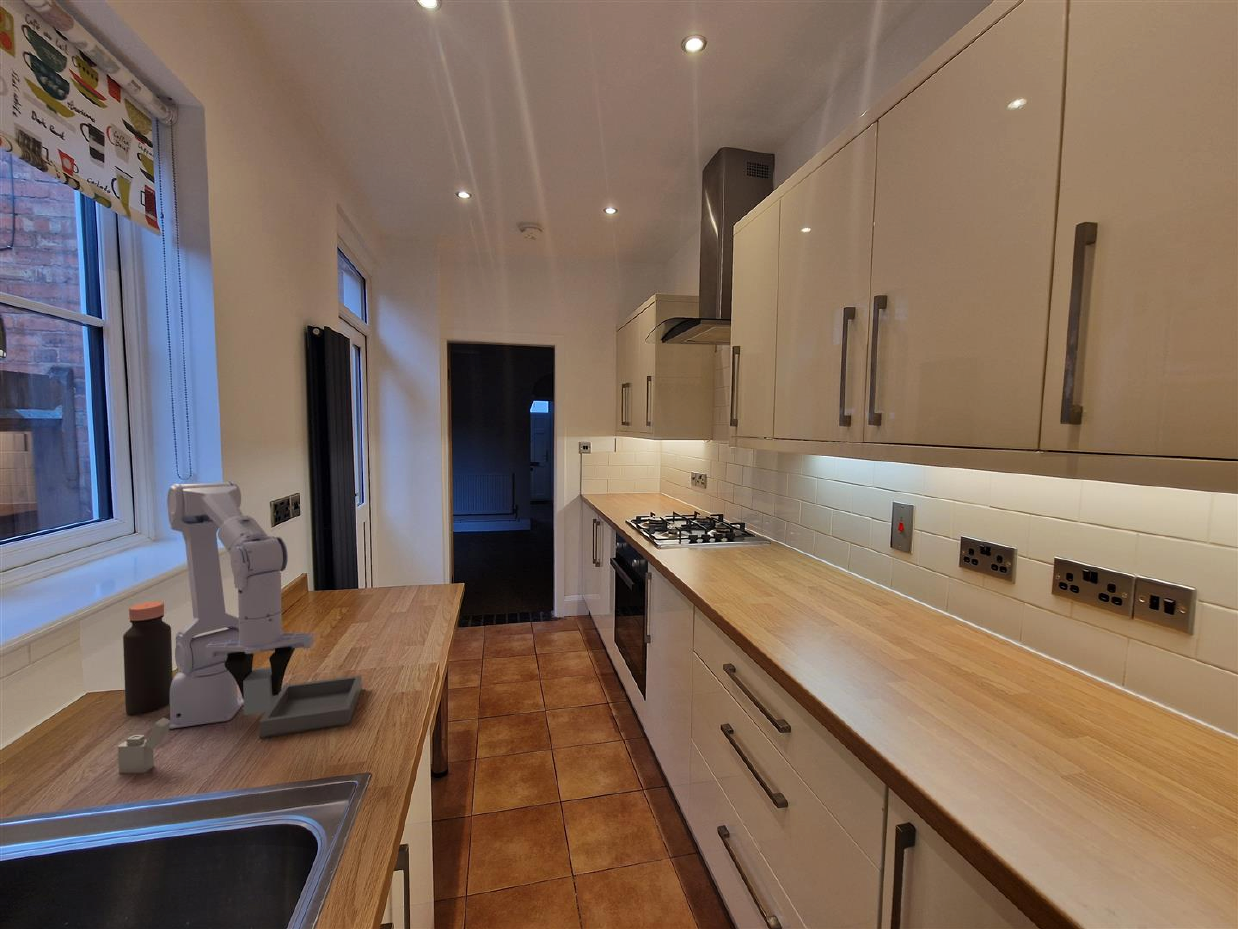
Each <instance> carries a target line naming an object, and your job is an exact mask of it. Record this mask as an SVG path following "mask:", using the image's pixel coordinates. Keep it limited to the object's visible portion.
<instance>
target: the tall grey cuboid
mask: <svg viewBox="0 0 1238 929" xmlns="http://www.w3.org/2000/svg"><path fill="white" fill-rule="evenodd" d="M243 691H244V704H243V715H244V716H245V715H255V714H260V713H261V714H262V713H266V712H270V710H271V709H272V708H273V706H274V705H275V703H276V702H277V700H278V699H279V694H278V695H275V696H273V695H272V671H271V666H267V667H259V668H258V667H257V668H253V669H252V672H251V673H250V674H249V675H248V676H247V677H246V679H245V680H244V681H243Z"/></svg>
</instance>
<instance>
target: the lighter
mask: <svg viewBox="0 0 1238 929" xmlns="http://www.w3.org/2000/svg"><path fill="white" fill-rule="evenodd" d="M171 722H172V721H170V719H168V718H166V717H162V718H160V719H159V720H158V721H157V720H156V722H154V724H153V725H152V728H151V731H150V732H149V734H148V736H147V738H146V739H145V735H143V734H134V735H131V736H129V737H127V738H126V740H125V741H123V742H122V743H120V744H118V745H117V750H118V751H117V755H118V757H117V760H118V774H145V773H147V772H148V771H150V770H151V769H153V768H154V767H155V761H154V759H155V758H154V749H155V748H157V747H158V746H159V745H160V744H162V743H163V741H164V739H165V736H167V735H166V734H167V732H168V730H169V726H170V724H171Z"/></svg>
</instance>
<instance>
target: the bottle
mask: <svg viewBox="0 0 1238 929" xmlns="http://www.w3.org/2000/svg"><path fill="white" fill-rule="evenodd" d="M164 614H165V603H164V602H162V601H148V602H141V603H139V604H135V605H132V606H130V607H129V608H128V615H129V617H128V619H129V622H130V623H131V626H130V628H129V629H128V630H126V631H125V633H124V634H123V635H122V645H123V647H122V648H123V672H124V673H123V674H124V675H123V676H124V697H125V698H124V699H125V705H124V706H125V711H126V714H128V713H129V715H131V714H139V715H145V714H149V713H148V712H150V713H153V712H156V711H159V710H162V709H163V708H165V707H167V706H170V687H171V683H172V680H173V678H174V676H173V675H174V674H173V647H172V627H171V626H170V624H168V623H167V622H165V621H163V618H164V616H165V615H164ZM144 713H145V714H144Z"/></svg>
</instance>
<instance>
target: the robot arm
mask: <svg viewBox="0 0 1238 929" xmlns="http://www.w3.org/2000/svg"><path fill="white" fill-rule="evenodd" d="M241 492H242V491H241V490H240V486H239V485H238V484H237V483H236V482H235V481H232V480H230V481H224V482H207V483H205V482H203V483H202V482H201V483H186V484H185V483H184V484H180V483H174V484H172V485H171V487H169V488H168V492H167V495H166V496H167V498H166V505H167V506H166V507H167V514H168V515H167V516H168V523H169V525H170V529H171V530H173V531H176V532H180V533H181V534H182V537H183V540H184V546H185V552H186V553H185V554H186V561H187V571H188V580H189V589H190V598H191V600H190V601H191V608H192V617H193V618H192V619H191V620H190V621H189V622H188V623H187V624H185V625H184V627H182V628H181V629H180V630H179V631H178V632H177V634H175V635H176V636H175V648H174V658H175V665H176V668H177V670H178V672H177V673H176V674H175V675H174V676H173V680H172V683H171V687H170V704H169V716H170V717H169V718H170V719H169V720H170V721H172V722H171V724H170V726H169V728H168V730H170V729H177V728H184V727H191V726H198V725H206V724H212V723H213V724H214V723H220V722H227V721H230V720H232V719H233V718H234V717H235V715H236V713H238V712H239V711H240V709H241V707H242V706H244V691H243V681H244V680H245V679H246V677H247V676H248V675H249V674H250V673H251V672H252V671H253V662H254V654H258V653H262V652H263V653H264V652H270V651H272V652H273V651H274V652H273V653H272V654H271V655H270V656H269V658H268V660H269V664H270V667H271V671H272V695H273V696H275V695H278V694H279V692H280V691H281V689H282V688H283V682H284V678H285V677H284V676H285V673H286V672H287V671H286V670H287V667H288V666H289V662H290V661H291V658H292V656H293V654H294V651H295V650H296V649H300V648H303V649H304V650H305V649H311V647H312V646H313V645H314V632H299V633H298V632H283V621H282V620H283V616H282V573H281V572H284V571H285V570H286V568H287V565H288V561H289V556H288V548H287V545H286V543H285V541H284V540H283V538H282V537H281V536H274V535H271V536H269V535H268V534H267V532H266V531H265V530H264V529H263V528H262V526H261V525H260V524H259V523H258V521H256V519H254V518H253V517H251V516H249V515H244V514H243V513H242V510H241V509H240V507H241V503H242V493H241ZM218 540H219V541H220V542H221V544H222V546H223V547H224V548H225V550H226V551H227V552H228V554H229V555H230V559H229V560H230V566H231V572H232V575H233V584H234V588H235V589H237V597H238V598H237V600H238V604H237V605H238V617H237V616H235V615H231V614H230V613H227V612H226V605H225V604H226V603H225V597H224V588H223V579H222V572H221V570H222V569H221V564H220V563H221V562H220V555H219V553H220V552H219V547H218ZM224 628H226V629H224ZM221 629H223V630H221ZM217 630H218V631H217ZM213 631H215V632H213ZM208 632H210V633H208ZM205 633H207V634H205ZM200 634H201V635H200ZM202 634H203V635H202ZM197 635H199V636H197ZM238 688H239V691H240V694H241V697H240V698H238V696H239V694H238Z"/></svg>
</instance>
